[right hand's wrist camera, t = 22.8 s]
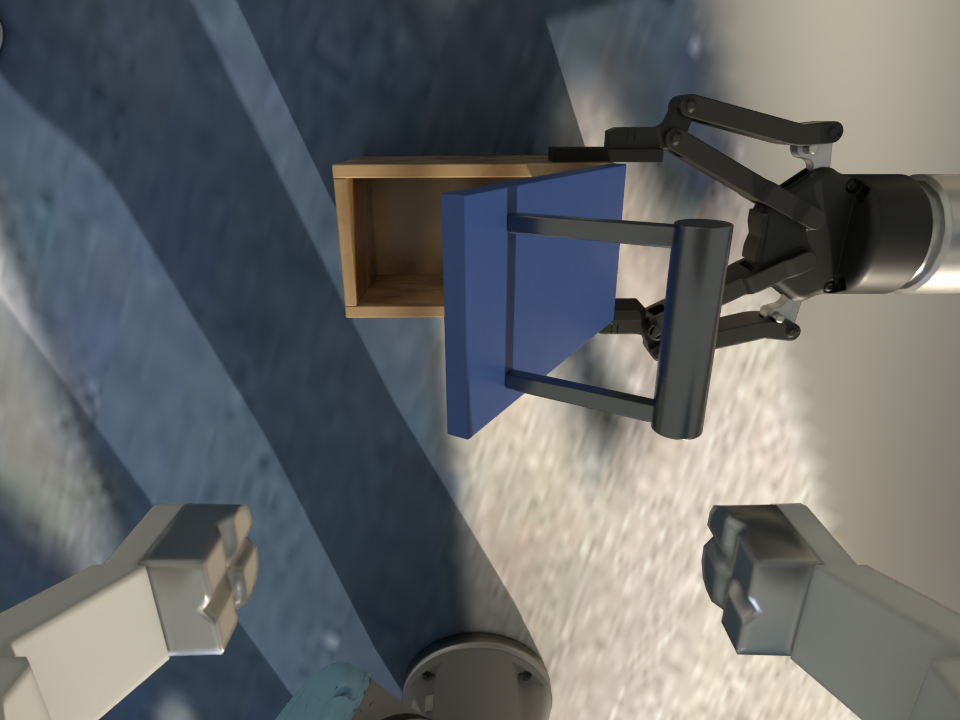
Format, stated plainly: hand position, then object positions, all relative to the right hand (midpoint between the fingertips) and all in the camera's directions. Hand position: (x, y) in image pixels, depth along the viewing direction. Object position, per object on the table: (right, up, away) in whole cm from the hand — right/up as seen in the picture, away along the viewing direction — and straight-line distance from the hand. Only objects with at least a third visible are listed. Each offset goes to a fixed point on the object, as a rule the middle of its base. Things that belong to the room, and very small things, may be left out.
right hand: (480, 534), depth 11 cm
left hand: (+4, +11, +28) cm, 30 cm away
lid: (+3, +7, +18) cm, 20 cm away
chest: (0, +13, +34) cm, 36 cm away
